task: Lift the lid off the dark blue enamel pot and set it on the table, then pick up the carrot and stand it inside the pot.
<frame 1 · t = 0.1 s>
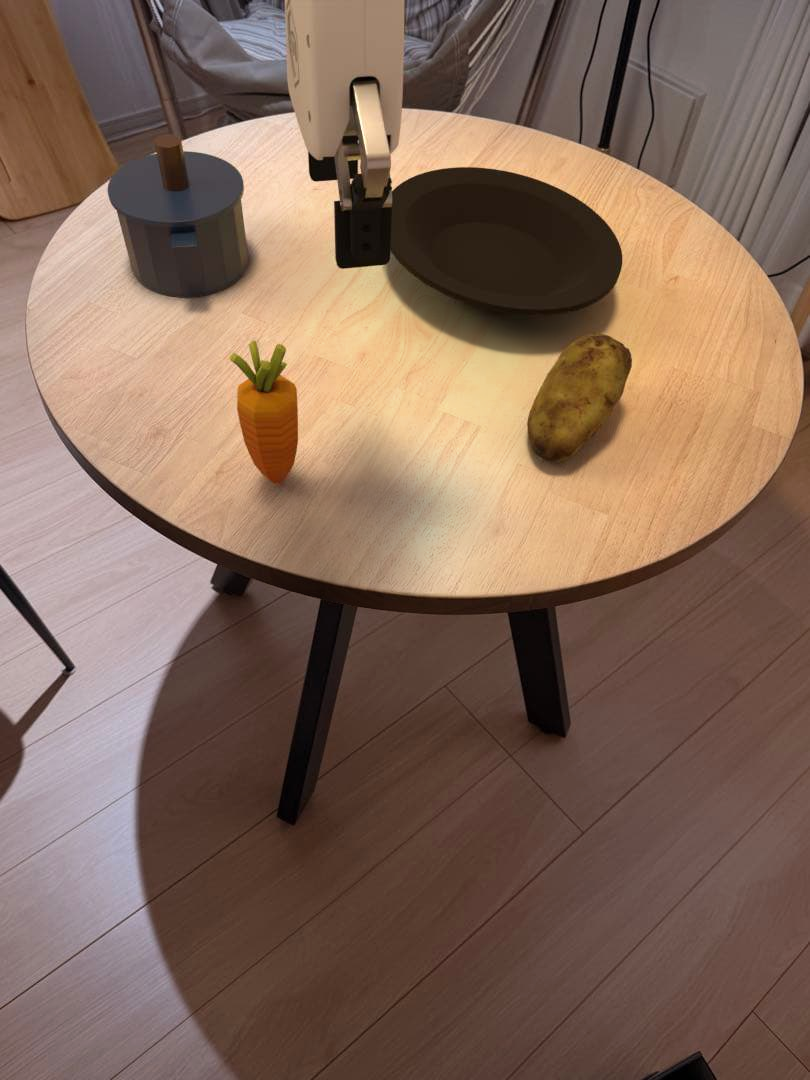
hand: (347, 218, 50), 25 cm above the table, tool pointing down, fingers open, 9 cm apart
carrot: (277, 484, 70), on the table
pot: (191, 262, 88), on the table
lid: (177, 190, 81), point 8 cm above the table, touching pot
potato: (565, 427, 76), on the table
plate: (492, 278, 89), on the table
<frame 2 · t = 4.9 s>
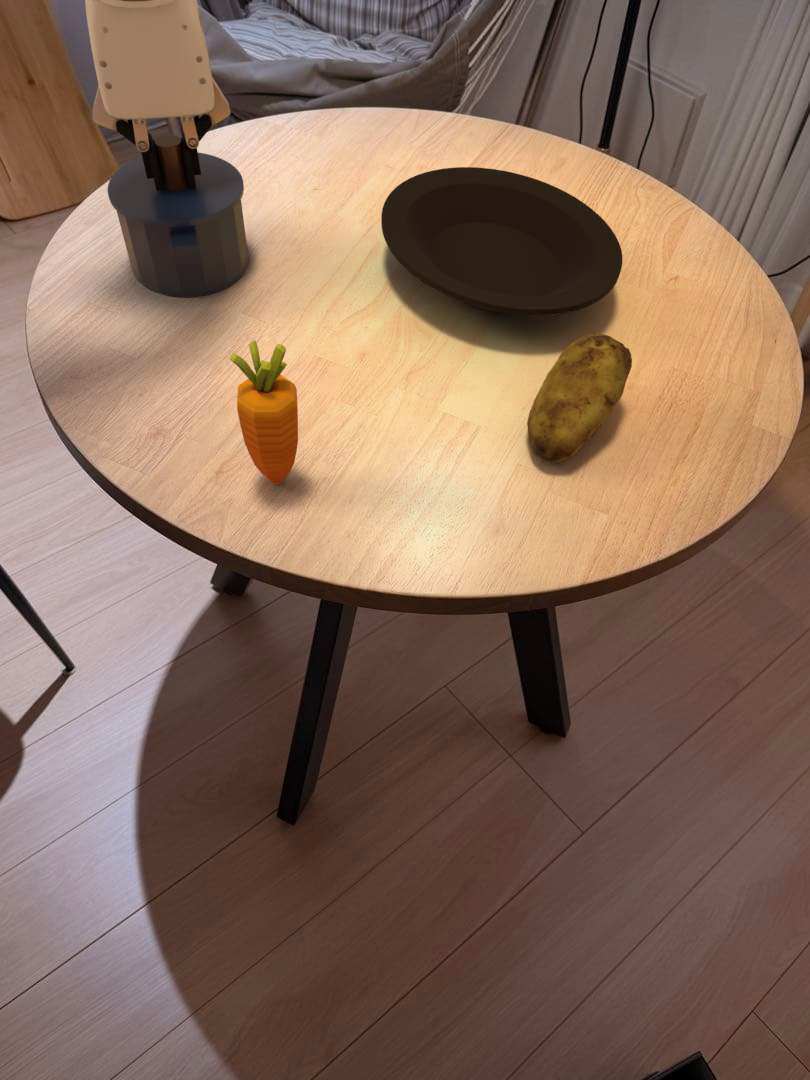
hand: (175, 181, 80), 9 cm above the table, tool pointing down, fingers closed on lid, 2 cm apart
lid: (177, 190, 81), point 9 cm above the table, touching gripper, pot
everything else where it was.
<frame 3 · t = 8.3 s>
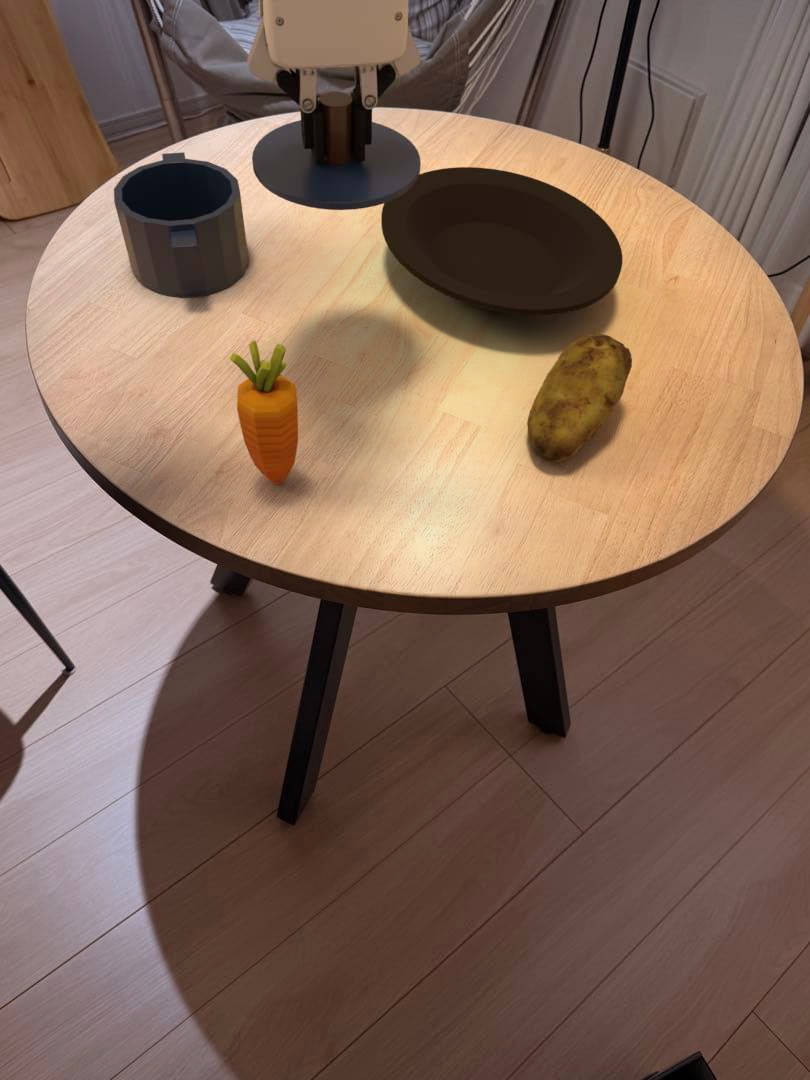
hand: (336, 152, 63), 21 cm above the table, tool pointing down, fingers closed on lid, 2 cm apart
lid: (337, 164, 64), point 20 cm above the table, touching gripper
everything else where it was.
when the fingers open (2 cm above the table, at t = 12.1 s): lid stays where it is, point 1 cm above the table.
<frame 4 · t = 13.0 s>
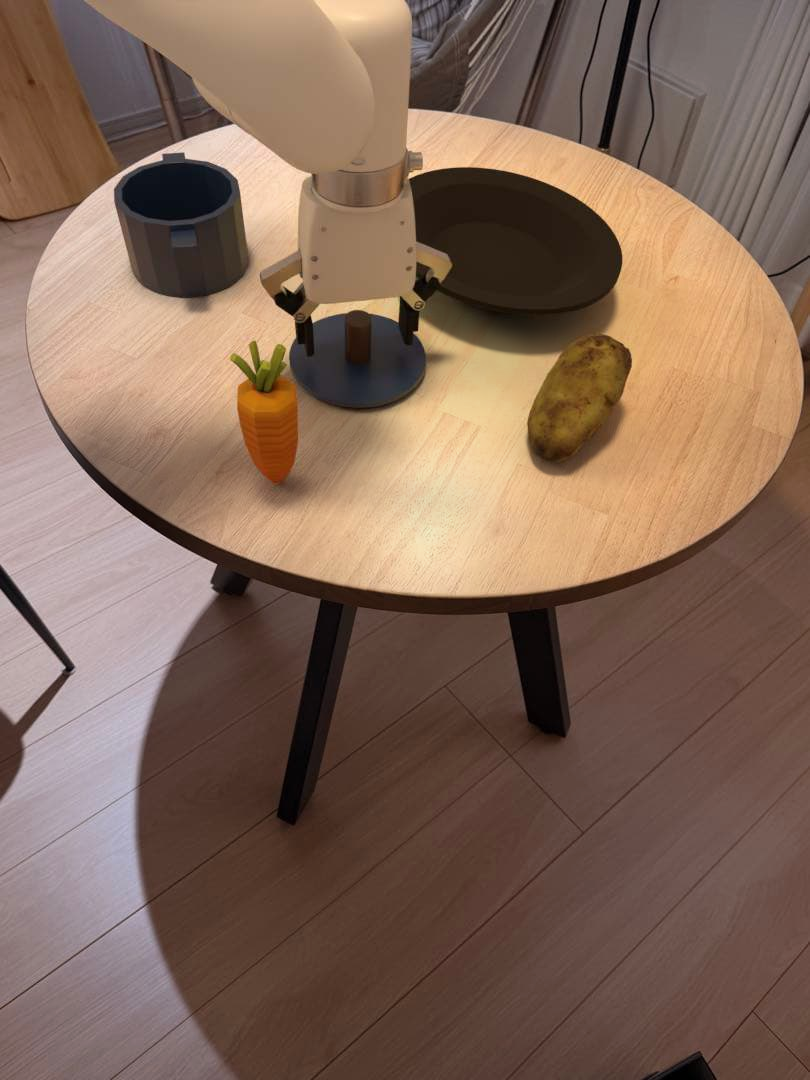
hand: (357, 341, 77), 3 cm above the table, tool pointing down, fingers open, 9 cm apart
lid: (357, 360, 79), point 1 cm above the table
everything else where it was.
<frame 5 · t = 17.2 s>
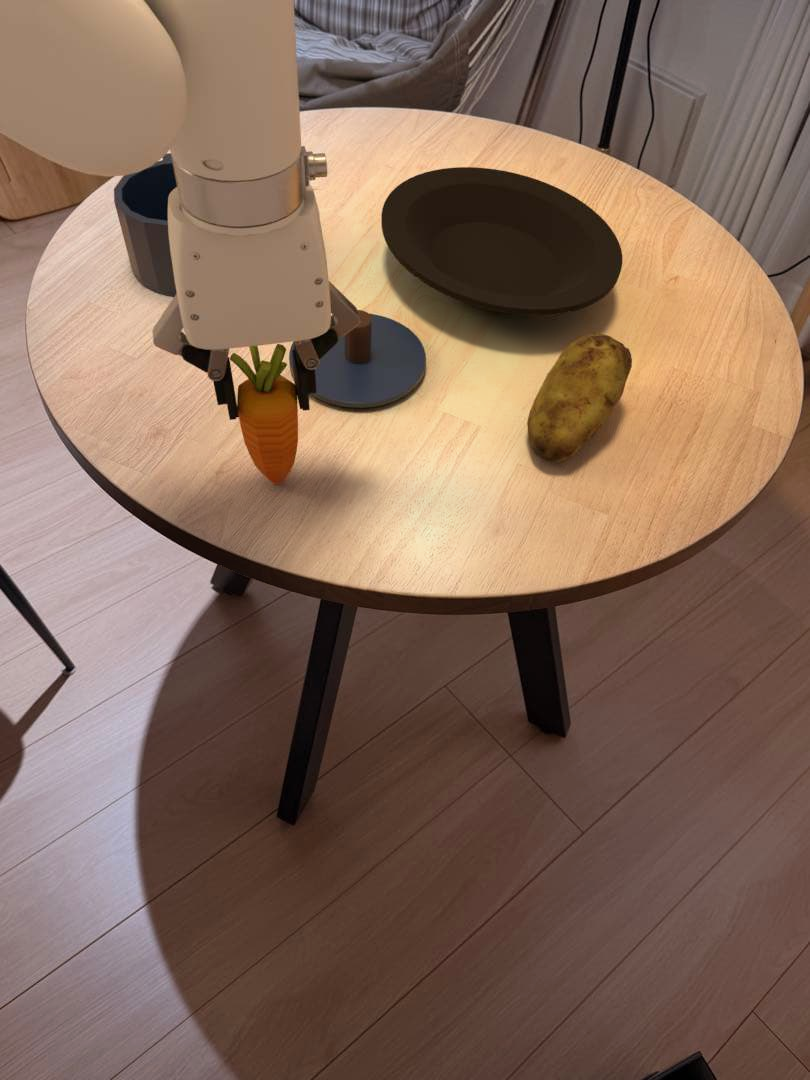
hand: (267, 400, 62), 10 cm above the table, tool pointing down, fingers closed on carrot, 4 cm apart
carrot: (277, 484, 70), on the table, touching gripper
everything else where it was.
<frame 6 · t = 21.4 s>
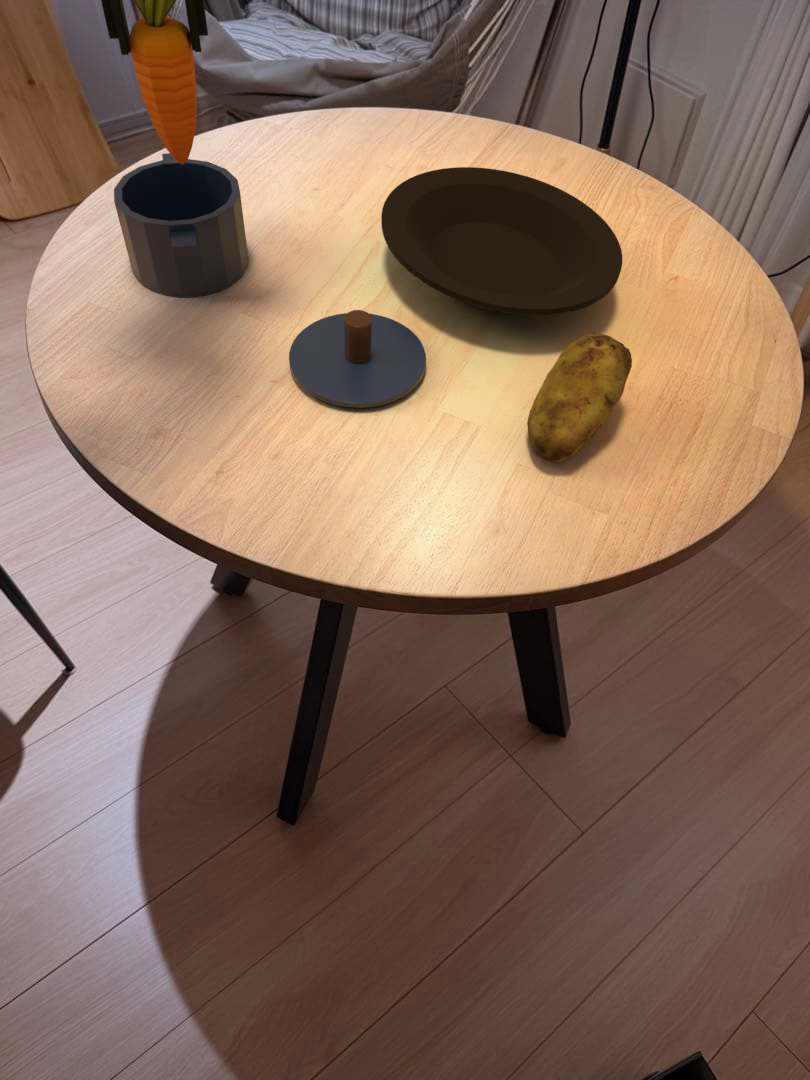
hand: (160, 43, 63), 25 cm above the table, tool pointing down, fingers closed on carrot, 4 cm apart
carrot: (182, 165, 71), point 15 cm above the table, touching gripper
everything else where it was.
when the fingers open (10 cm above the table, at t = 25.9 s): carrot stays where it is, resting on pot.
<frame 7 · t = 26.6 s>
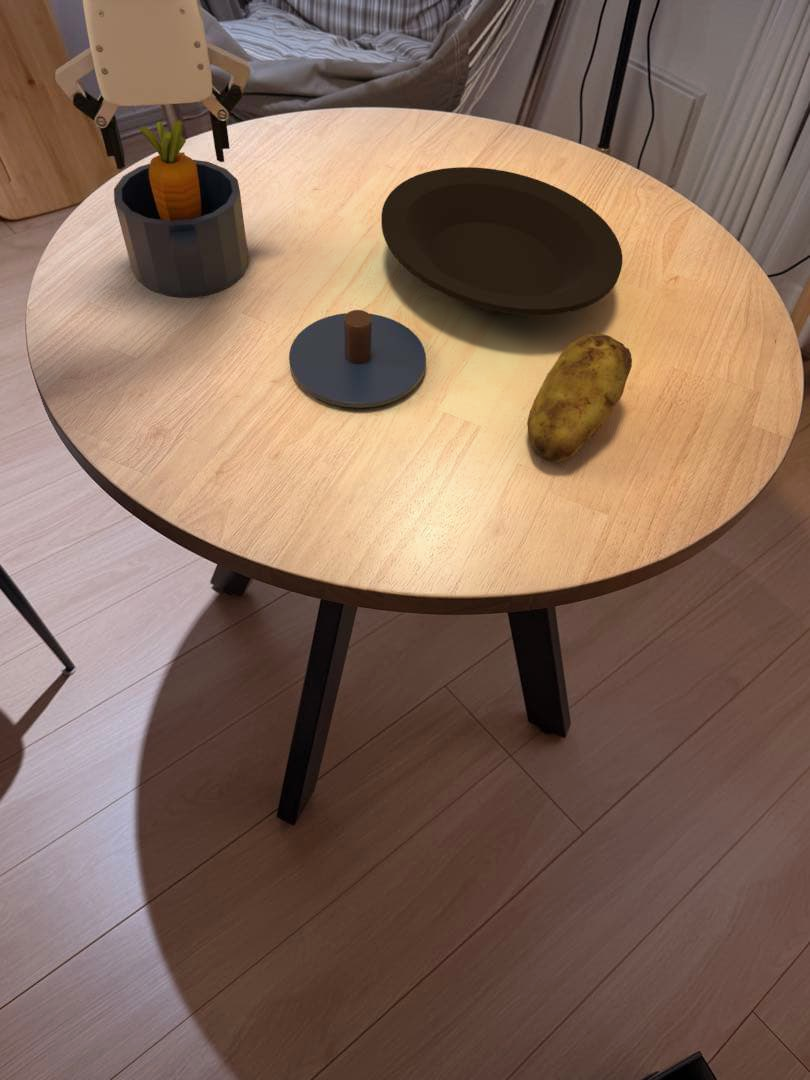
hand: (170, 158, 79), 12 cm above the table, tool pointing down, fingers open, 9 cm apart
carrot: (190, 260, 88), resting on pot
everything else where it was.
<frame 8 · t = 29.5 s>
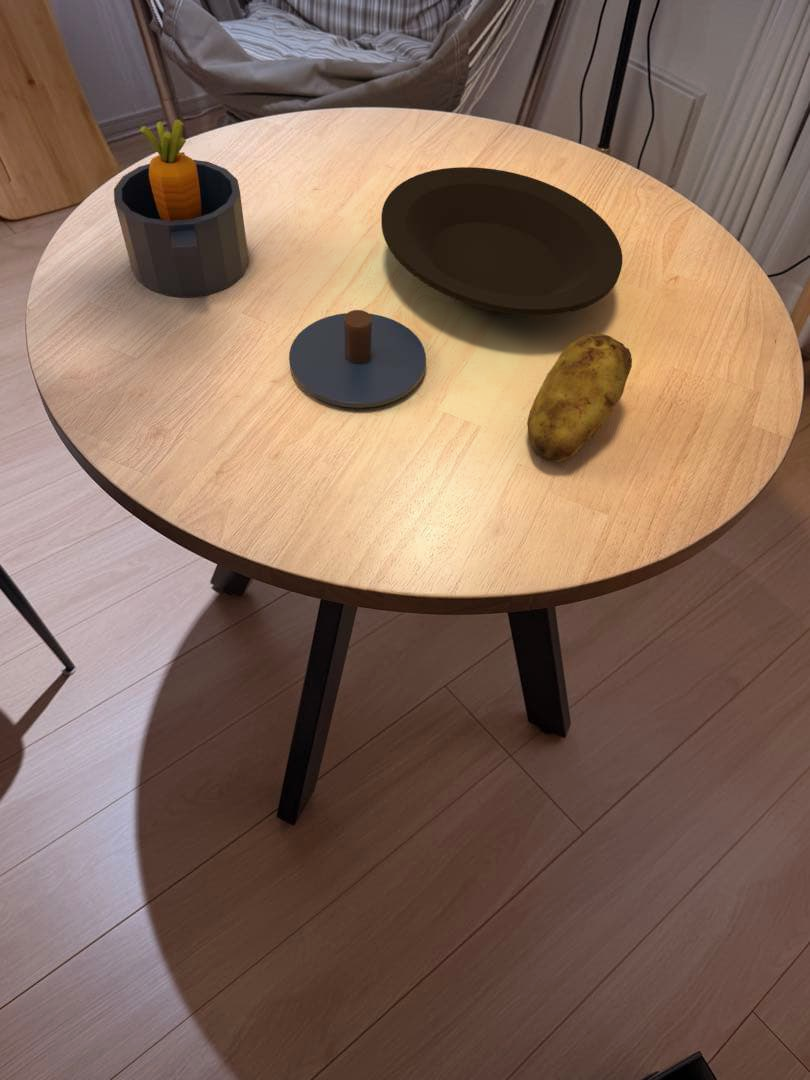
nothing on the table moved.
at the end: lid inside the target area (0.0 cm from its centre), point 0.6 cm above the table; carrot inside the target area in the pot (0.1 cm from its centre), point 0.3 cm above the pot's base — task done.
